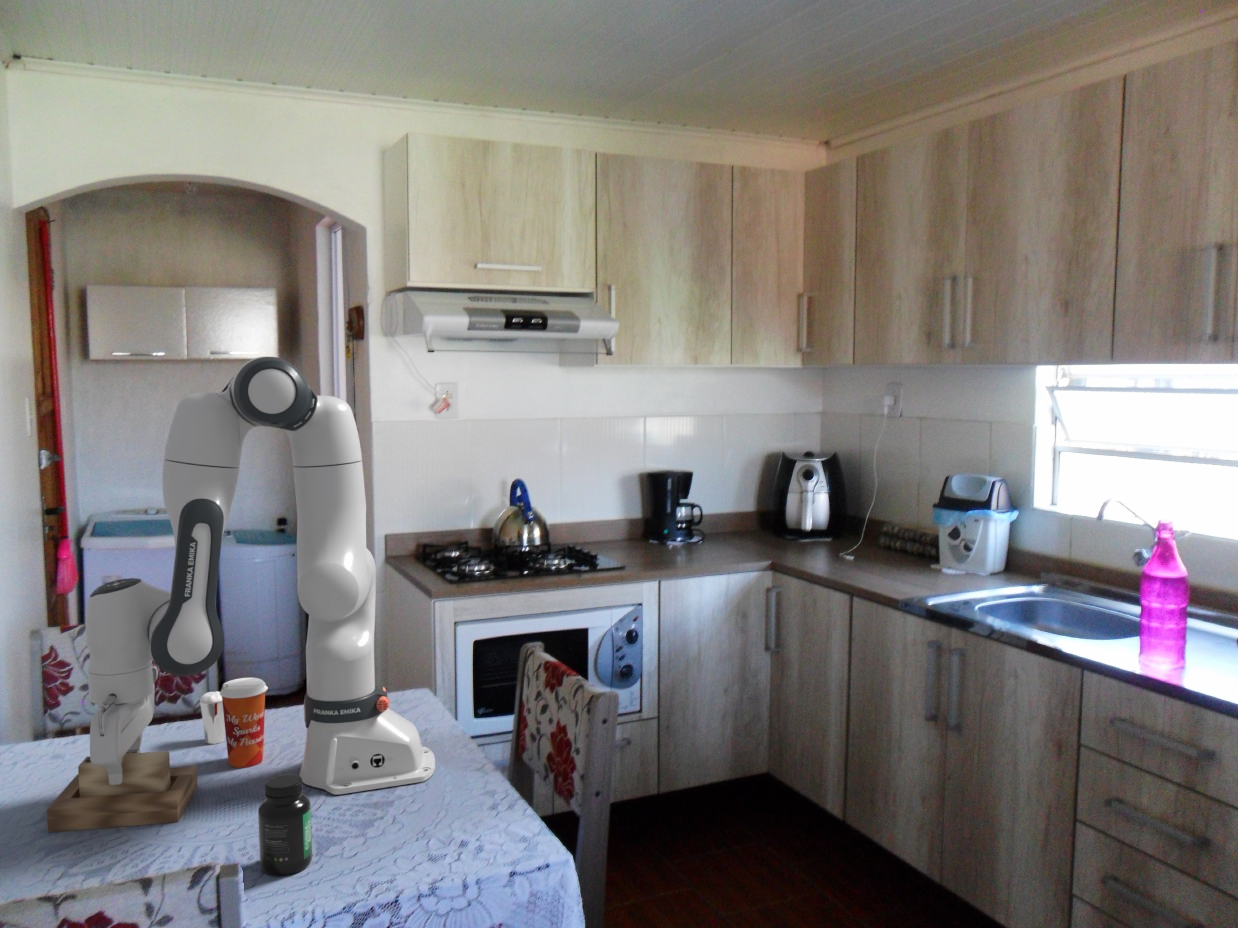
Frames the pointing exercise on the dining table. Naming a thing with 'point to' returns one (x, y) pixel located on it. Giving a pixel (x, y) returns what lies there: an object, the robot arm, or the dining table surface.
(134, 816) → the frame
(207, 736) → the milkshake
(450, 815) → the dining table surface
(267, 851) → the supplement bottle
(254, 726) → the paper cup
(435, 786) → the dining table surface
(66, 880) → the dining table surface
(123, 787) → the door
